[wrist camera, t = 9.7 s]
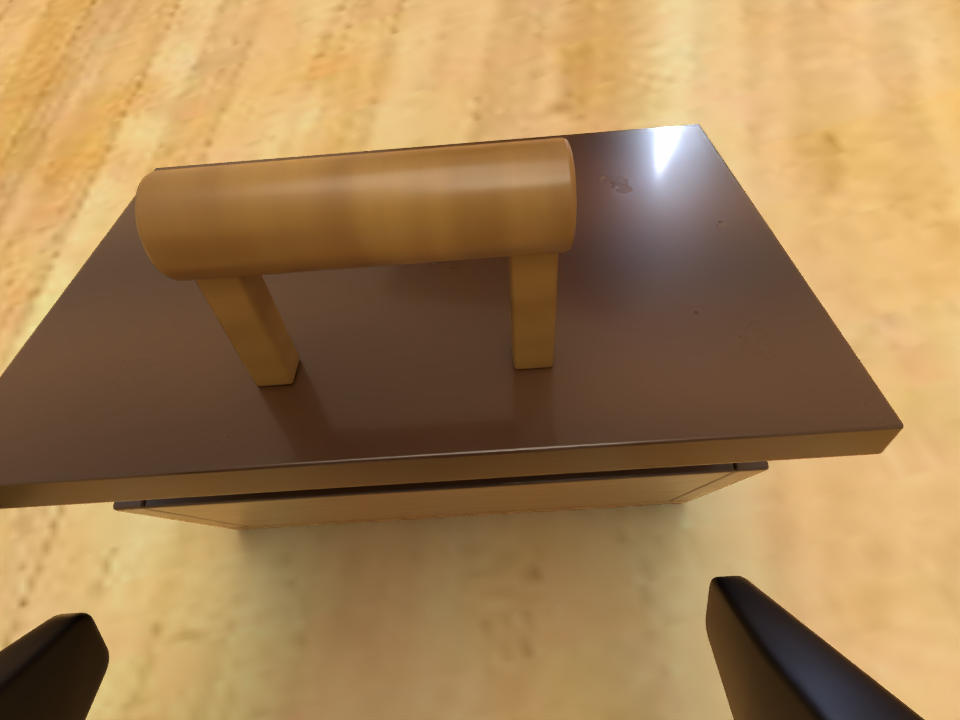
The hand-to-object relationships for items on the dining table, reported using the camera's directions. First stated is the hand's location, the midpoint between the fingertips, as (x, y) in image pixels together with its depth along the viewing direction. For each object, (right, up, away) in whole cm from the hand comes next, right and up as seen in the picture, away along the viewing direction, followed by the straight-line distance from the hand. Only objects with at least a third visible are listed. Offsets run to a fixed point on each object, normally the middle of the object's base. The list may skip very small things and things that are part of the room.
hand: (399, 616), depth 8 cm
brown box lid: (0, +5, +5) cm, 7 cm away
